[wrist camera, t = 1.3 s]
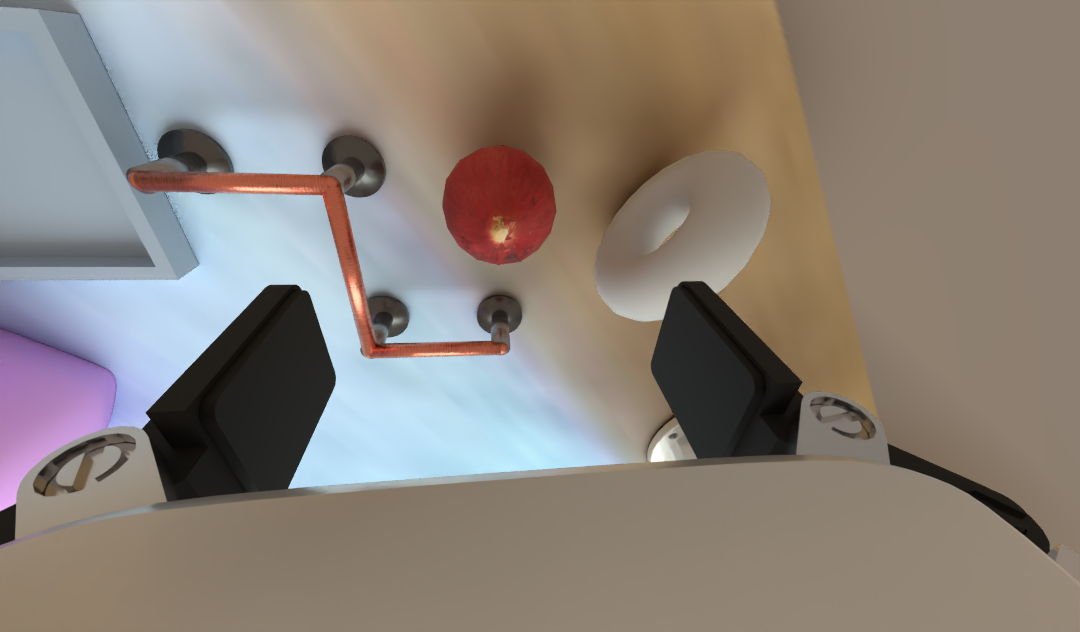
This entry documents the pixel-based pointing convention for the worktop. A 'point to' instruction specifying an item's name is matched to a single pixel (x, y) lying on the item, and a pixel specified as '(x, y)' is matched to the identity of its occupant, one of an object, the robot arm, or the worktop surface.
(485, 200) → the onion
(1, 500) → the teakettle
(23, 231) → the dish
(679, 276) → the donut
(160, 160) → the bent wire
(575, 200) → the worktop surface
